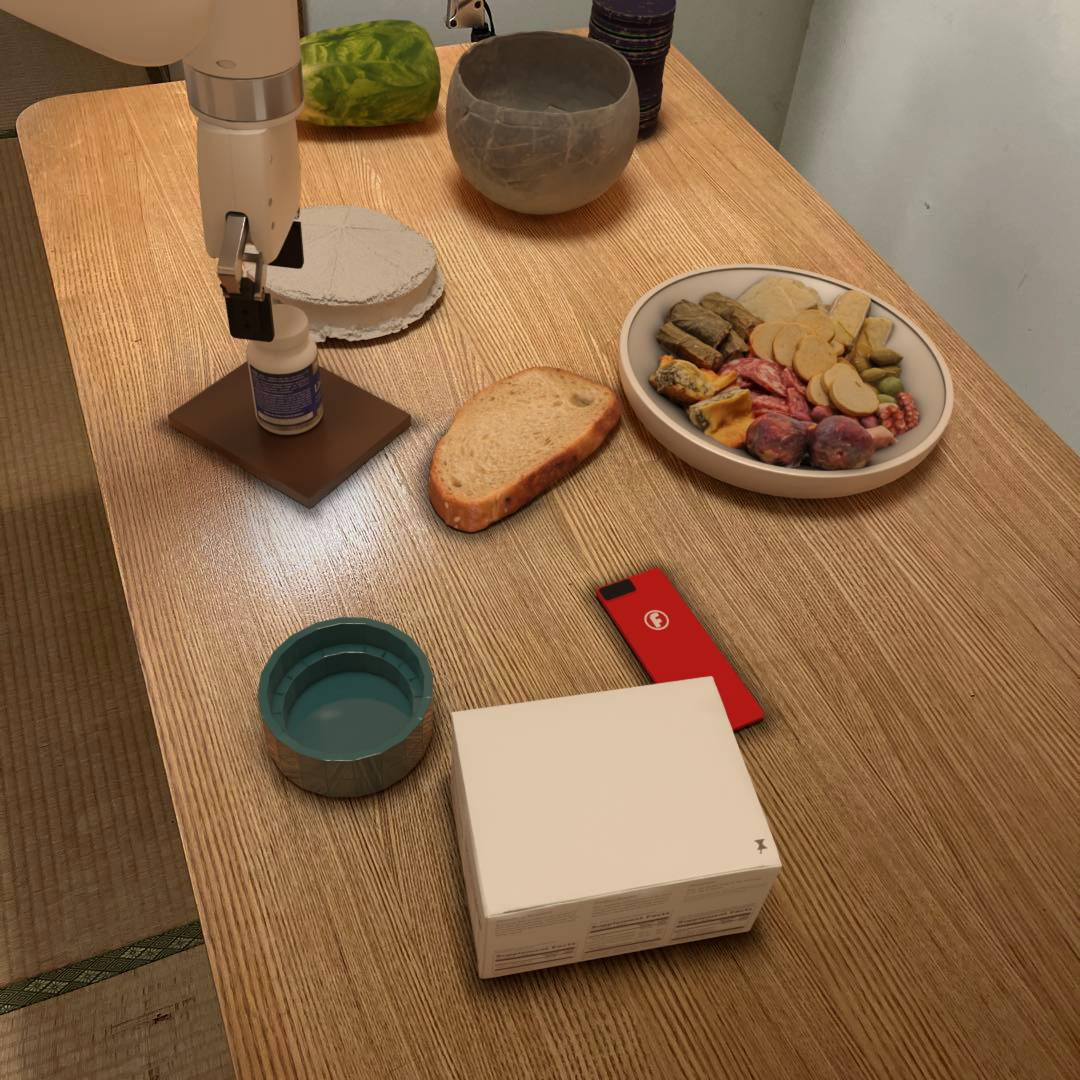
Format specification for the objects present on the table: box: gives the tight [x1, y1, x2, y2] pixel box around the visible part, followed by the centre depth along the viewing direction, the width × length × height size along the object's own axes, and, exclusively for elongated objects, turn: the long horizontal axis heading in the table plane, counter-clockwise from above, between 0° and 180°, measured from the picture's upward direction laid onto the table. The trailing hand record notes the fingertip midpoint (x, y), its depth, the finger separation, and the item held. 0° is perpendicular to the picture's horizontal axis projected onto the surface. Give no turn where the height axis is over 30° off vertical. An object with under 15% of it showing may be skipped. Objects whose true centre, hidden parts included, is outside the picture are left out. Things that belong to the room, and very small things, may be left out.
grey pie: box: [243, 202, 446, 343], centre depth 105 cm, size 20×20×7 cm
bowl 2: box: [617, 263, 955, 500], centre depth 97 cm, size 30×30×8 cm
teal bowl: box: [256, 616, 434, 798], centre depth 72 cm, size 11×11×5 cm
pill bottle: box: [245, 304, 323, 435], centre depth 89 cm, size 6×6×10 cm
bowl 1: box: [445, 30, 640, 216], centre depth 116 cm, size 20×20×15 cm
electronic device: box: [595, 567, 765, 732], centre depth 79 cm, size 6×1×15 cm
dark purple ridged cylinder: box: [587, 0, 677, 143], centre depth 127 cm, size 10×10×18 cm
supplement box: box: [450, 676, 783, 980], centre depth 65 cm, size 17×13×9 cm
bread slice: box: [427, 365, 623, 533], centre depth 92 cm, size 18×18×4 cm
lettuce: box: [295, 19, 442, 128], centre depth 125 cm, size 12×21×11 cm, turn 111°
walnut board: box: [167, 360, 412, 509], centre depth 93 cm, size 16×13×1 cm
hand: (269, 300), depth 83 cm, fingers open, 9 cm apart
